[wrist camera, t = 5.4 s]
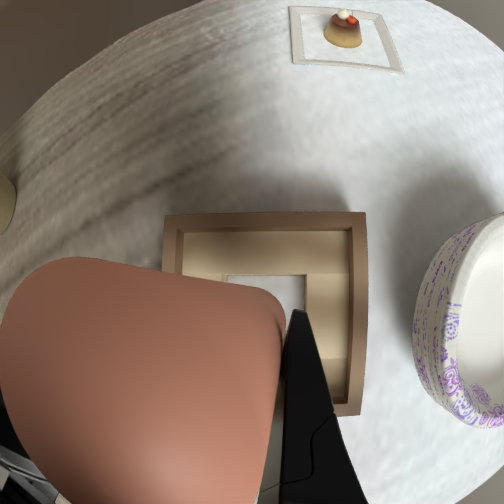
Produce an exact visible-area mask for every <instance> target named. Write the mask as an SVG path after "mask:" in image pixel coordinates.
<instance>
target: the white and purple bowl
mask: <svg viewBox="0 0 504 504" xmlns="http://www.w3.org/2000/svg"><path fill="white" fill-rule="evenodd" d="M412 343H413V356H414V362H415V366H416V369H417V373H418V376H419V378H420V381H421V383H422V385H423V387H424V389H425V390H426V392H427V393H428V394H429V395H430V396H431V397H432V398H433V399H434V401H435V402H436V403H438V404H439V405H441V406H442V407H443V408H444V409H446V410H447V411H449V412H450V413H452V414H453V415H454V416H455V417H457V418H458V419H459V420H460V421H462V422H463V423H465V424H467V425H470V426H473V427H477V428H493V427H497V426H501V425H503V424H504V212H503V213H500V214H497V215H494V216H492V217H489V218H487V219H485V220H482V221H479V222H477V223H474V224H472V225H470V226H468V227H466V228H464V229H462V230H460V231H459V232H457V233H456V234H454V235H453V236H451V237H450V238H449V239H447V240H446V241H445V242H444V244H443V245H442V246H441V247H440V249H439V250H438V252H437V253H436V255H435V256H434V258H433V259H432V261H431V263H430V265H429V267H428V269H427V271H426V274H425V276H424V279H423V281H422V283H421V286H420V289H419V292H418V296H417V301H416V306H415V312H414V319H413V329H412Z"/></svg>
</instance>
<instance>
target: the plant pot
mask: <svg viewBox="0 0 504 504" xmlns="http://www.w3.org/2000/svg"><path fill="white" fill-rule="evenodd" d="M15 202H16V191H15V188H14V186H13V184H12V183H11V182H10V181H9V179H8V178H7V177H6V176H5V174H4V173H3V172H2V171H1V170H0V234H2V233H3V232H4V231H5V230H6V228H7V227H8V225H9V223H10V221H11V218H12V215H13V212H14V208H15Z"/></svg>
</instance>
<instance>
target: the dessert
mask: <svg viewBox="0 0 504 504" xmlns="http://www.w3.org/2000/svg"><path fill="white" fill-rule="evenodd" d="M289 14H290V26H291V40H292V54H293V63H294V64H318V65H335V66H347V67H357V68H365V69H373V70H380V71H387V72H393V73H398V74H405V72H404V69H403V66H402V64H401V61H400V58H399V55H398V53H397V50H396V48H395V45H394V43H393V40H392V38H391V35H390V33H389V31H388V29H387V26H386V24H385V22H384V20H383V18H382V15H381V14H377V13H371V12H364V11H357V10H349V9H340V8H329V7H312V6H289ZM300 14H314V15H330V16H332V17H331V19H330V21H329V23H328V25H327V27H326V29H325V31H324V37H325V39H326V40H327V41H328V42H330V43H332V44H333V45H336V46H339V47H343V48H355V47H358V46H360V45H361V43H362V37H361V31H360V25H359V21H358V20H357V19H356V18H359V19H366V20H372V21H373V22H374V24H375V26H376V29H377V31H378V34H379V36H380V39H381V41H382V44H383V46H384V49H385V52H386V55H387V57H388V60H389V63H390V66H391V67H390V68H389V67H383V66H376V65H369V64H361V63H352V62H342V61H328V60H307V59H305V57H304V47H303V37H302V28H301V19H300Z"/></svg>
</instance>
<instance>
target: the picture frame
mask: <svg viewBox="0 0 504 504" xmlns="http://www.w3.org/2000/svg"><path fill="white" fill-rule="evenodd" d="M162 271H163V272H169V273H174V274H180V275H185V276H191V277H197V278H202V279H208V280H214V281H220V282H226V283H227V277H228V275H305V311H306V312H307V314H308V317H309V320H310V324H311V327H312V330H313V334H314V337H315V341H316V344H317V348H318V351H319V355H320V358H321V362H322V365H323V369H324V372H325V376H326V380H327V383H328V387H329V391H330V394H331V398H332V402H333V405H334V409H335V412H334V413H336V416H337V417H342V416H356V415H360V411H361V403H362V395H363V386H364V375H365V363H366V349H367V330H368V248H367V228H366V213H365V212H248V213H213V214H187V215H166V216H165V221H164V235H163V252H162Z"/></svg>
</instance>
